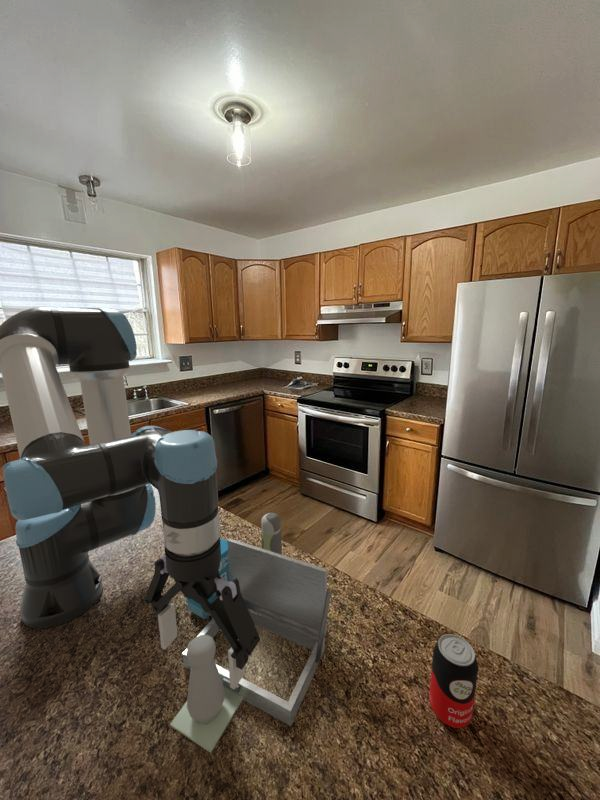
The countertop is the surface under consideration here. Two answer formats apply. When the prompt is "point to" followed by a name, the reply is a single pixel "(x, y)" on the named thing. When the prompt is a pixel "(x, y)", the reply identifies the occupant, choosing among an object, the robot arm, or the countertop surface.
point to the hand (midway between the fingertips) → (201, 660)
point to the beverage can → (453, 681)
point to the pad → (214, 729)
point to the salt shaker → (203, 680)
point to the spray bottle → (271, 533)
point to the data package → (224, 575)
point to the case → (278, 616)
